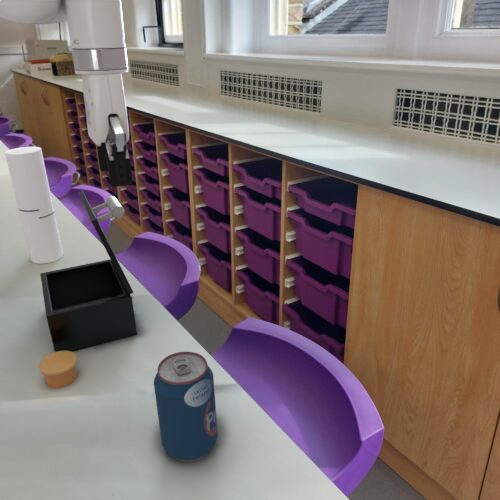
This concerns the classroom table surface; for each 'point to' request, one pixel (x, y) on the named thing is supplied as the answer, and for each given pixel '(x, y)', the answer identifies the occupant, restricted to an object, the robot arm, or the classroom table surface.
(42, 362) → the cylinder
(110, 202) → the lid
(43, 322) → the classroom table surface
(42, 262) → the cylindrical container
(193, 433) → the soda can
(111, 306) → the black hinged storage box
